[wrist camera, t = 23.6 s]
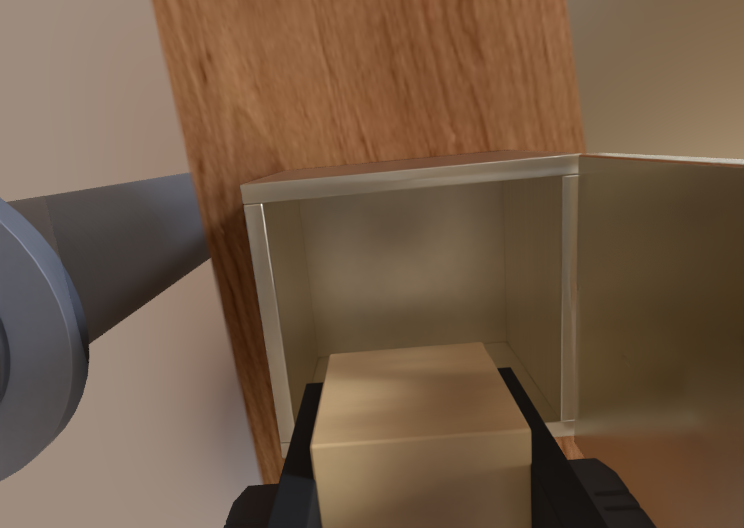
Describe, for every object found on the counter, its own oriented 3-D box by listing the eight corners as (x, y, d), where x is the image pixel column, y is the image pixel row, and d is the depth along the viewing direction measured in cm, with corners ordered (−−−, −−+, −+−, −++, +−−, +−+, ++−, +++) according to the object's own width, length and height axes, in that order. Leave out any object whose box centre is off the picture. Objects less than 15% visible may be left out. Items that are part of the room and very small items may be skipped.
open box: (309, 363, 32) (282, 458, 22) (283, 170, 29) (239, 184, 19) (515, 346, 31) (578, 435, 22) (512, 149, 28) (582, 153, 19)
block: (344, 485, 15) (333, 622, 11) (328, 353, 14) (308, 446, 10) (487, 474, 15) (534, 609, 11) (482, 340, 14) (532, 428, 10)
